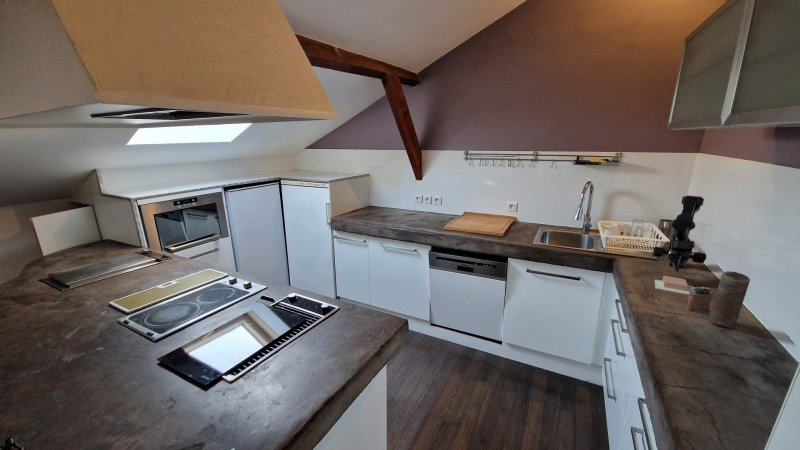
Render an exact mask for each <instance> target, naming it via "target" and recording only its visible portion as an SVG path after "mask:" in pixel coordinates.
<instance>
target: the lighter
mask: <svg viewBox="0 0 800 450" xmlns="http://www.w3.org/2000/svg"><path fill="white" fill-rule="evenodd" d="M693 287H694V286H693ZM711 291H712V289H711V287H704V286H701V287H700V286H695V287H694V288H693V291H691V292H689V294H690V295H688V300H687V304H686V305H685V310H687V311H689V312H694V313H695V312H696V313H710V311H711V309H710V306H711V303H712V300H713V297H714V293H713V292H711Z"/></svg>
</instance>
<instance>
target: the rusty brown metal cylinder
mask: <svg viewBox="0 0 800 450" xmlns="http://www.w3.org/2000/svg"><path fill="white" fill-rule="evenodd" d="M750 282H751V279H750V278H749V276H747V275H745V274H743V273H741V272H738V271H728V270H727V271H724V272H722V274H721V277H720V280H719V284H718V286H717V289H716V292H715V296H714V299H713V302H712V305H711V309H710V310H709V315H708V317H707V318H708V321H709V322H710V323H712V324H716V325H719V326H721V327H724V328H733V327H736V325H737V323H738V319H739V317H740V313H741V310H742V307H743V303H744V300H745V298H746V294H747V291H748V288H749V285H750Z"/></svg>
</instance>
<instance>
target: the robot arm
mask: <svg viewBox="0 0 800 450" xmlns="http://www.w3.org/2000/svg"><path fill="white" fill-rule="evenodd" d="M704 202H705V198H703V196H697V195H689V194H688V195H685V196H682V198H681V203H680V204H682V211H681V212H680V214H678V215H677V216H676V218H675V219H673V221H672V223H671V227H672V229H671V231H672V232H671V241H670V242H669V245H668V250H666V248H665V247H661V246H654V248H653V249H652V255H651V256H652V257H658V258H661V257H663V255H666V256H667V258H666V260H667V261H668V266H670V267H673V269H674V271H675V272H679V270H680V269H681V268H683V269H685V268H686V265H685V263H687V262H688V261H689V259H691V261H692V262H694V263H695V264H696V263H698V264H704V263H705V261H706V259H707V254H706V253H705V252H700V251H699V252H698V251H694V253H693V249H694V248H695V241H694V240H691V239H690V238H689V236H690V232H691V230H694V229H695V227H696V222H695V221H694V217H695V214H696V213H697V212H699V211H700V210H701V207H702V206H703V205H704Z"/></svg>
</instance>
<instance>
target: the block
mask: <svg viewBox="0 0 800 450" xmlns="http://www.w3.org/2000/svg"><path fill="white" fill-rule="evenodd" d="M662 281H663V286H664V287H666V288H671V289H677V290H682V291H687V287H688V286H689V285H688V282H687V280H686V279H685V278H679V277H675V276H669V275H663V277H662ZM687 285H688V286H687Z"/></svg>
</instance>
